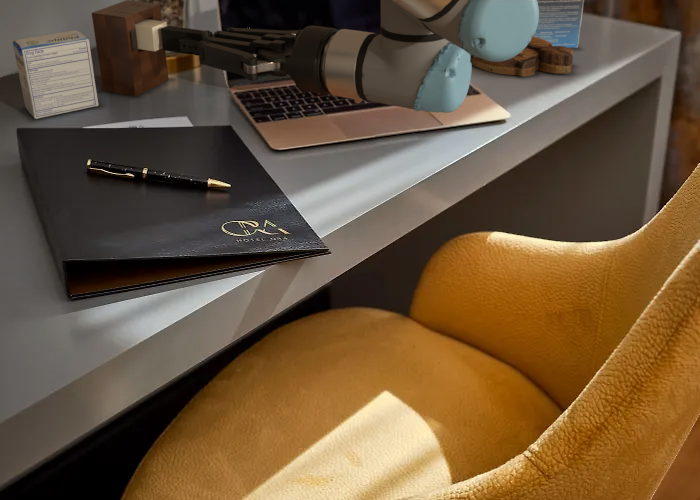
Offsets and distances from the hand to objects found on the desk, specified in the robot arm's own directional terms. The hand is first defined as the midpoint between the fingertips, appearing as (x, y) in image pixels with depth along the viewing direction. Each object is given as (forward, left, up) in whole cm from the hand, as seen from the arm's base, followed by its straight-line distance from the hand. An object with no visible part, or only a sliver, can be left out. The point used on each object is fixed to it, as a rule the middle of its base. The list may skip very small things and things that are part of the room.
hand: (165, 38), depth 113 cm
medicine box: (-14, -1, -7) cm, 15 cm away
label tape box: (+54, -1, -7) cm, 54 cm away
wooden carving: (+50, -3, -6) cm, 51 cm away
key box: (-4, +4, -7) cm, 9 cm away
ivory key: (-2, +2, -1) cm, 3 cm away
